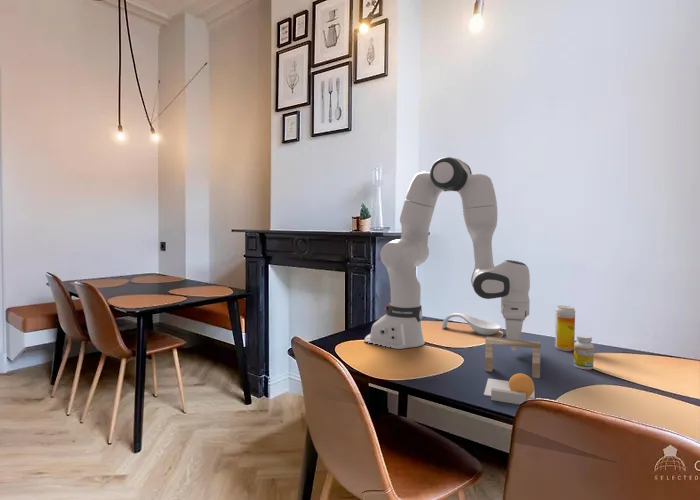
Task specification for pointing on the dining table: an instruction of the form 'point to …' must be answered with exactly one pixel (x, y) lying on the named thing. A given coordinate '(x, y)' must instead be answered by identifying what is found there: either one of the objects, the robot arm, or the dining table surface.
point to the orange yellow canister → (565, 328)
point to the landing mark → (500, 387)
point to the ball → (521, 384)
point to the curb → (508, 396)
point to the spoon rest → (475, 324)
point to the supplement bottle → (583, 352)
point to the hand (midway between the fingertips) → (514, 349)
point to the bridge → (512, 342)
